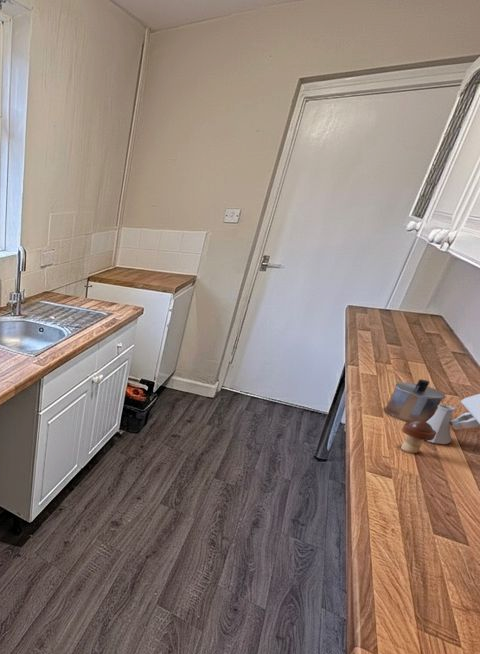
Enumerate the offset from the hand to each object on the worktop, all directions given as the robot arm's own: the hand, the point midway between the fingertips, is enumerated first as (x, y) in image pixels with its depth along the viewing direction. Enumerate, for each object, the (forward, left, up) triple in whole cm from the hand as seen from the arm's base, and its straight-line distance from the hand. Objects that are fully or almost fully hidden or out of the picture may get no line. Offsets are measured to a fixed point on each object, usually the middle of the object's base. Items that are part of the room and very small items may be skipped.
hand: (451, 425), depth 114 cm
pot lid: (+5, -14, +4) cm, 15 cm away
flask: (+3, 0, -5) cm, 6 cm away
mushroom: (+9, +12, -5) cm, 16 cm away
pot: (+5, -14, -5) cm, 16 cm away
